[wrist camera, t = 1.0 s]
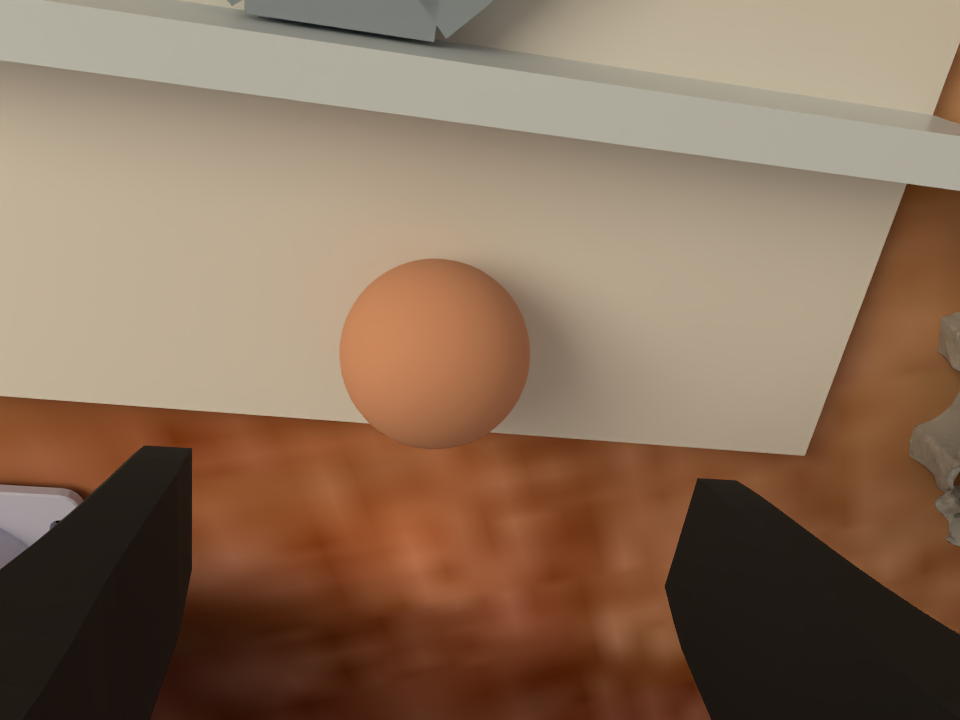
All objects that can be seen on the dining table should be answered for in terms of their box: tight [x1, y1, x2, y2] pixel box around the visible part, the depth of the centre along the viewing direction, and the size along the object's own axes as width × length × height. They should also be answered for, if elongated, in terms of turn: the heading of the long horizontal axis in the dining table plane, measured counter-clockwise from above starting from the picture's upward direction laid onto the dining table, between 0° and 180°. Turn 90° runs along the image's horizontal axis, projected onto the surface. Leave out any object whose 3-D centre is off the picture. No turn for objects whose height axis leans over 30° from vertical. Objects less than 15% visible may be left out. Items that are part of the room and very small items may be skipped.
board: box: [0, 0, 960, 456], centre depth 18 cm, size 18×23×1 cm
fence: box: [0, 0, 960, 191], centre depth 16 cm, size 1×23×3 cm, turn 81°
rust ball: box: [339, 259, 530, 449], centre depth 18 cm, size 4×4×4 cm
